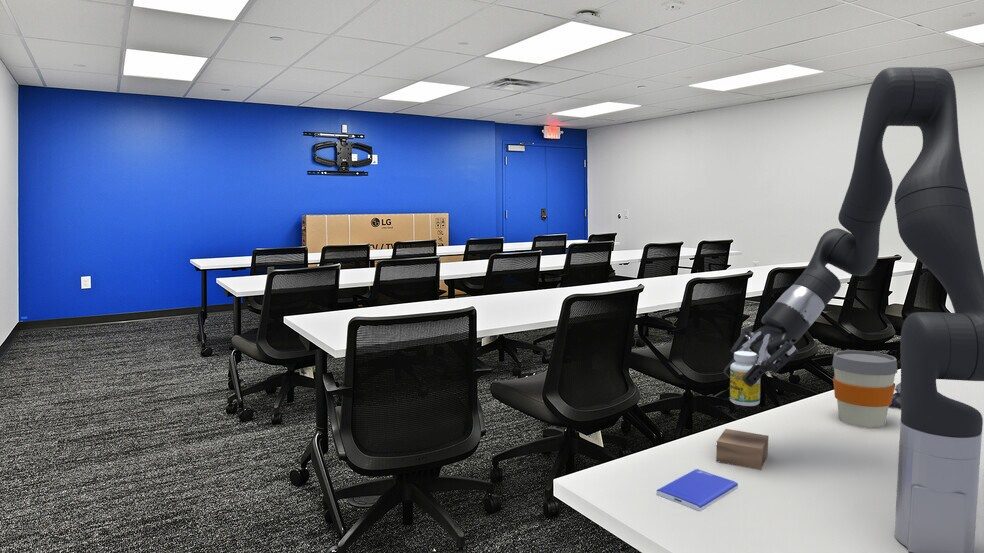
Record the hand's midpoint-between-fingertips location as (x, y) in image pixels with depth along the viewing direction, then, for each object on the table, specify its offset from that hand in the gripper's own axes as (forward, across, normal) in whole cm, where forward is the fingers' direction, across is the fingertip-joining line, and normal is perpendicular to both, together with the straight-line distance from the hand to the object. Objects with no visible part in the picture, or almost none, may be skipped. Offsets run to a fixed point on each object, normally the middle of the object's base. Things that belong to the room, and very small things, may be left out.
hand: (736, 378), depth 117 cm
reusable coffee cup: (-17, -12, +40) cm, 45 cm away
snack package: (-31, -19, +55) cm, 66 cm away
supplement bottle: (+2, 0, +5) cm, 5 cm away
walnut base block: (+10, 0, +12) cm, 16 cm away
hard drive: (+22, +10, +2) cm, 24 cm away
